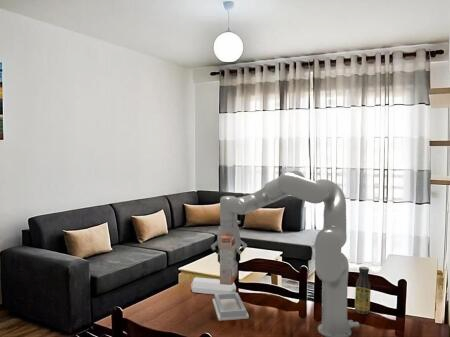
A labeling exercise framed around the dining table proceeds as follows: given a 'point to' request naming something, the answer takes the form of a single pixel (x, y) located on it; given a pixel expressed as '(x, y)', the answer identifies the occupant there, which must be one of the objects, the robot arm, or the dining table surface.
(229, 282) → the cracker box
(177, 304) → the dining table surface
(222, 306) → the grey rectangular tray
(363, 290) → the sauce bottle
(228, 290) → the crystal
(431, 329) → the dining table surface
